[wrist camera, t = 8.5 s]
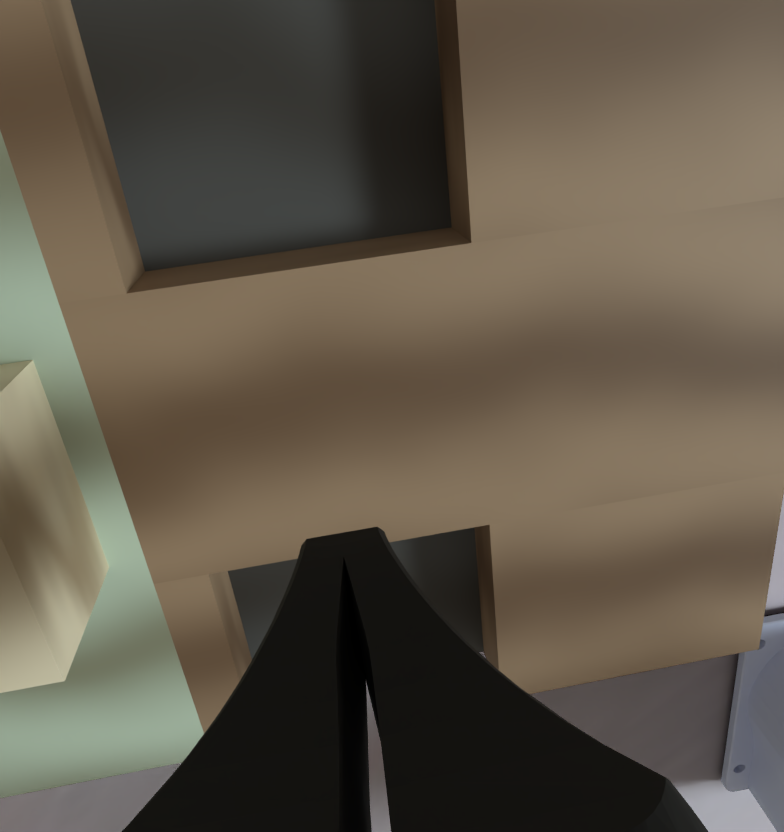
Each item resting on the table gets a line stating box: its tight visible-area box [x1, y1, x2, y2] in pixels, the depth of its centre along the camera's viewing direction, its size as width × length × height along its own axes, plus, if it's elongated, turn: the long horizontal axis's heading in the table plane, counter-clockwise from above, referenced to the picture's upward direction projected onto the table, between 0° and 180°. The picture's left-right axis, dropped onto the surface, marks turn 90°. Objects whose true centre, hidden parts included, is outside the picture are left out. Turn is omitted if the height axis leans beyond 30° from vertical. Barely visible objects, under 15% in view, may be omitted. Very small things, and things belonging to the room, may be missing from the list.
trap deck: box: [0, 0, 784, 798], centre depth 18 cm, size 22×28×4 cm
